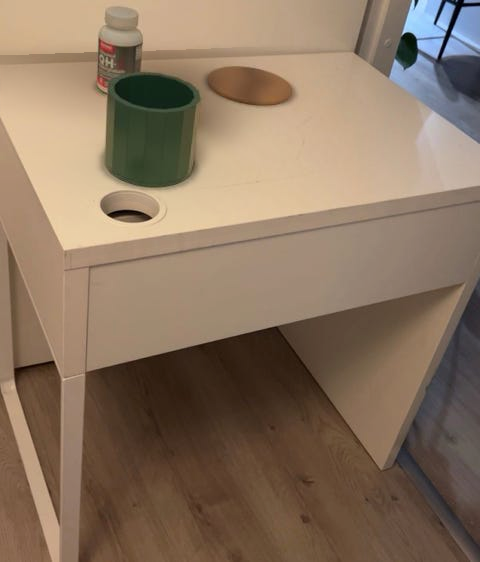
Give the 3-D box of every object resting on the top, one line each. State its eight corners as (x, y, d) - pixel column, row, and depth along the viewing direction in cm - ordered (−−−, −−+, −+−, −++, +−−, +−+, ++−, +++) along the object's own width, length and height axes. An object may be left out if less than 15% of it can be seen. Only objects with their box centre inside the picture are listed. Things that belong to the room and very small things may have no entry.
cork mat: (213, 101, 95) (213, 98, 94) (203, 65, 104) (203, 63, 103) (299, 107, 97) (300, 105, 97) (282, 72, 106) (283, 69, 106)
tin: (105, 184, 75) (108, 108, 70) (104, 141, 82) (107, 68, 77) (195, 189, 77) (205, 114, 72) (187, 146, 84) (195, 75, 79)
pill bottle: (92, 93, 91) (94, 14, 86) (101, 76, 96) (104, 0, 90) (135, 100, 92) (140, 22, 86) (142, 83, 96) (147, 8, 90)
